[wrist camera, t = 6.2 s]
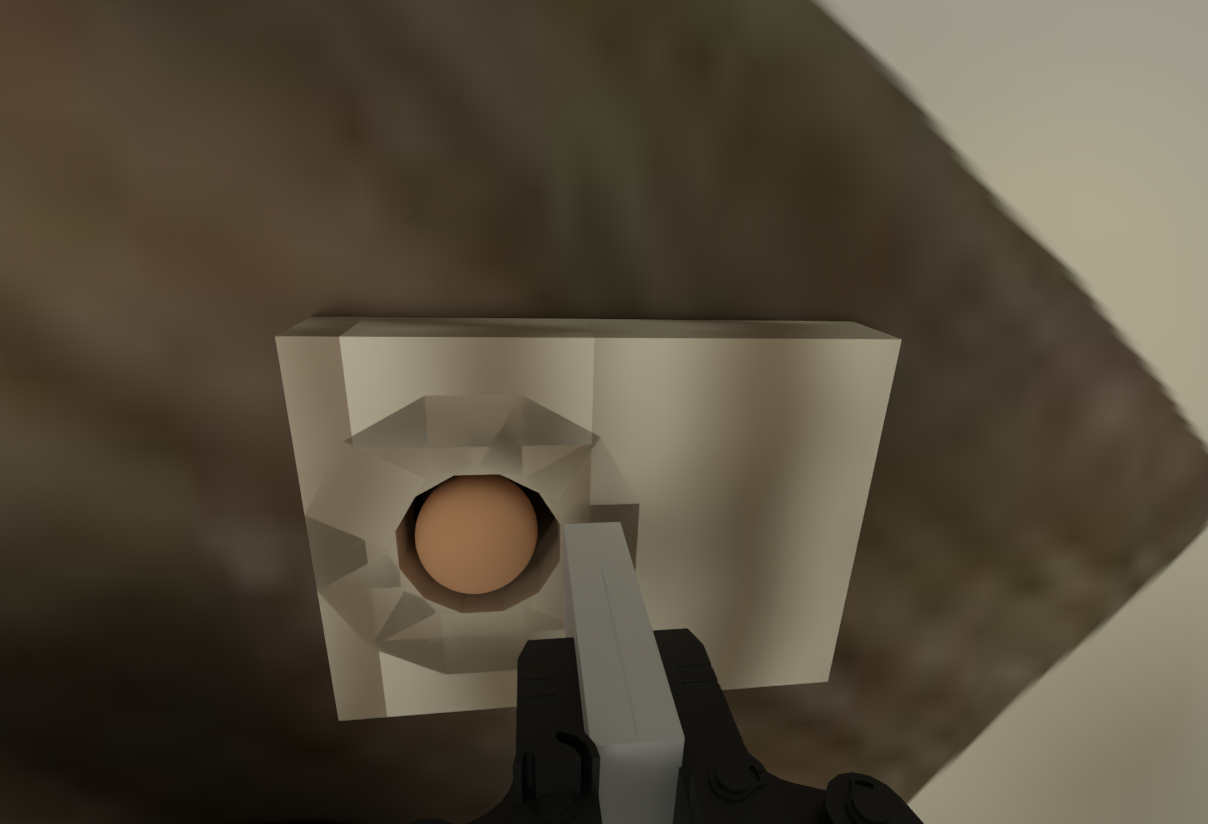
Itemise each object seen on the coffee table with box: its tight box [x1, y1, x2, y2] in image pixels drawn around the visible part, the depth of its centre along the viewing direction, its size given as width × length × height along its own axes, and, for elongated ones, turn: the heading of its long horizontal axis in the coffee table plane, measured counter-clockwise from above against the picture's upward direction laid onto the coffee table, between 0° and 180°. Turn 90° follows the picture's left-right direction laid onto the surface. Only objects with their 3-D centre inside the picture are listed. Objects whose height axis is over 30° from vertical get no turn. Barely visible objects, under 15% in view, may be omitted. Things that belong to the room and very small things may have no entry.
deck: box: [275, 316, 902, 721], centre depth 18 cm, size 16×12×2 cm
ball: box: [415, 474, 538, 594], centre depth 17 cm, size 4×4×4 cm
